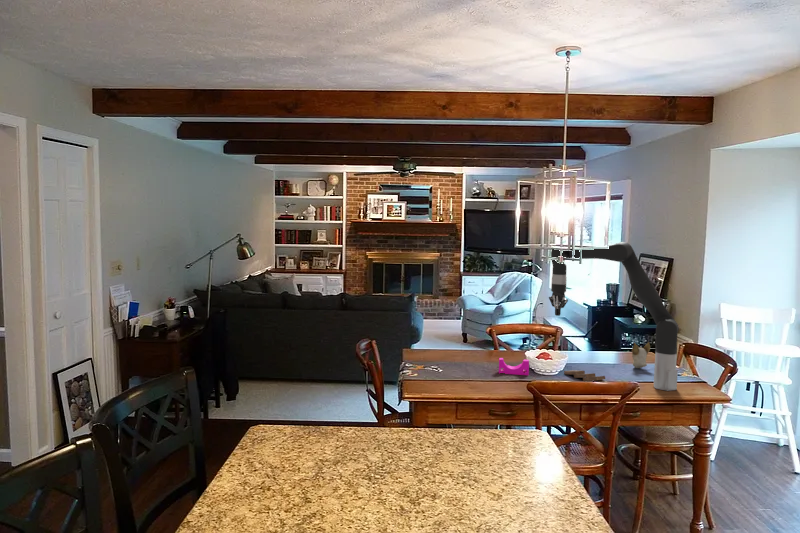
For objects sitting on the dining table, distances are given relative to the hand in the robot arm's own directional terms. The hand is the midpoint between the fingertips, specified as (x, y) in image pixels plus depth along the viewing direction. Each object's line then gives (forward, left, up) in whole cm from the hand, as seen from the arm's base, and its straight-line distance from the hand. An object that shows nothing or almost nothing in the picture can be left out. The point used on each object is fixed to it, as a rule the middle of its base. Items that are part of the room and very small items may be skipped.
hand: (557, 315), depth 300 cm
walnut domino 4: (-31, 0, -28) cm, 42 cm away
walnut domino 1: (-10, 0, -28) cm, 30 cm away
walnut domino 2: (-17, 0, -28) cm, 33 cm away
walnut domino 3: (-24, 0, -28) cm, 37 cm away
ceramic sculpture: (-15, -44, -29) cm, 55 cm away
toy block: (+2, +26, -29) cm, 39 cm away
